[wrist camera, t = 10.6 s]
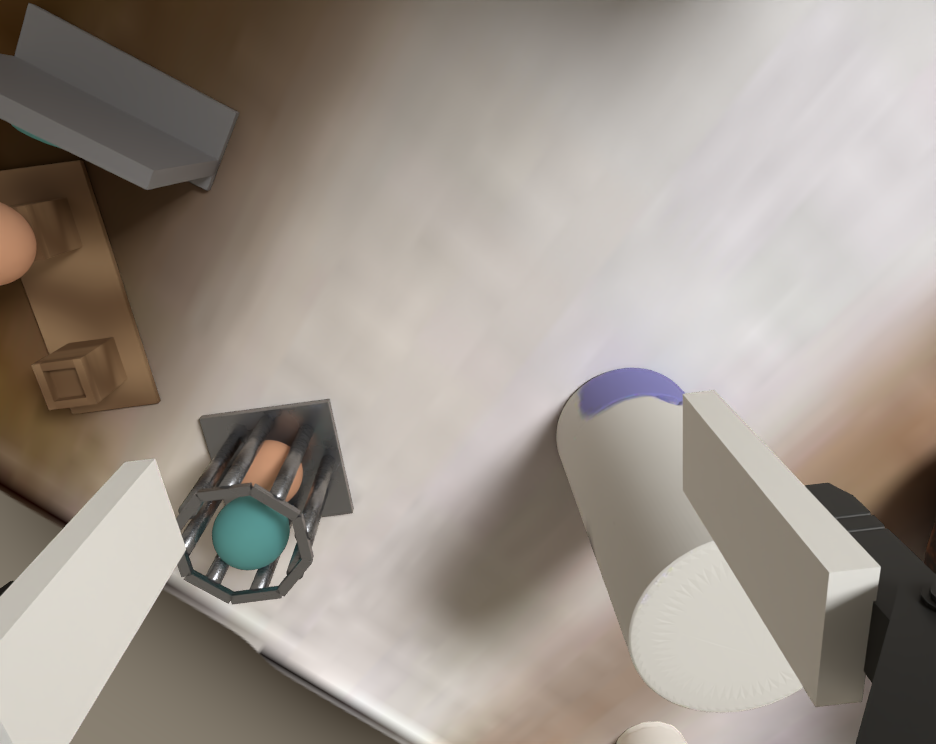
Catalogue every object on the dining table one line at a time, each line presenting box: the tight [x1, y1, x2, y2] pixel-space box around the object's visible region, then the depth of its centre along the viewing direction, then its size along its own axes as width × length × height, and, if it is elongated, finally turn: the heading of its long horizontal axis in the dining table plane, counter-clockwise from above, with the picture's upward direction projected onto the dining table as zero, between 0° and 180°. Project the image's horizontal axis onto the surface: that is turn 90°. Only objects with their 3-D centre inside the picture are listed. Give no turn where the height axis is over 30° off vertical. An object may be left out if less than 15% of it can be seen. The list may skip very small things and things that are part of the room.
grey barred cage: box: [176, 399, 354, 604], centre depth 43 cm, size 9×9×10 cm
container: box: [556, 368, 803, 713], centre depth 38 cm, size 10×10×20 cm
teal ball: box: [212, 496, 290, 570], centre depth 41 cm, size 5×5×5 cm
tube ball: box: [241, 440, 303, 502], centre depth 44 cm, size 5×5×5 cm
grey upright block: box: [0, 3, 239, 190], centre depth 34 cm, size 5×12×10 cm, turn 62°
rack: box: [0, 160, 161, 414], centre depth 40 cm, size 16×6×5 cm, turn 7°
